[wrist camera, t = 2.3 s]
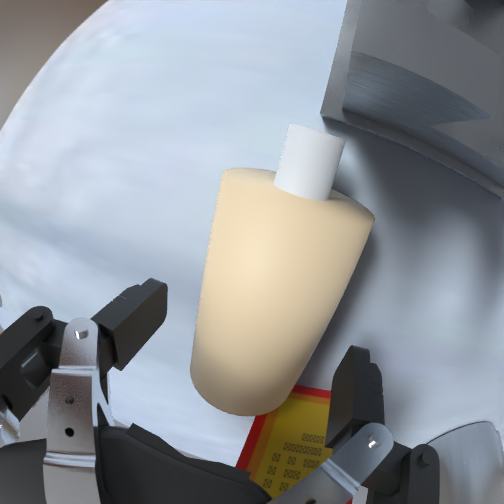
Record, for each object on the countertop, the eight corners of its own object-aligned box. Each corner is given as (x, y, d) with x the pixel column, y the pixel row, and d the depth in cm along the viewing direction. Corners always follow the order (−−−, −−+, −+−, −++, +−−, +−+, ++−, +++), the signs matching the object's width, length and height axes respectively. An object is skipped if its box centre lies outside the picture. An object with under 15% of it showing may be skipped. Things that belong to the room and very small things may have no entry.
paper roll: (283, 124, 12) (200, 104, 7) (399, 162, 10) (388, 152, 5) (226, 346, 18) (167, 391, 14) (294, 390, 16) (246, 451, 12)
